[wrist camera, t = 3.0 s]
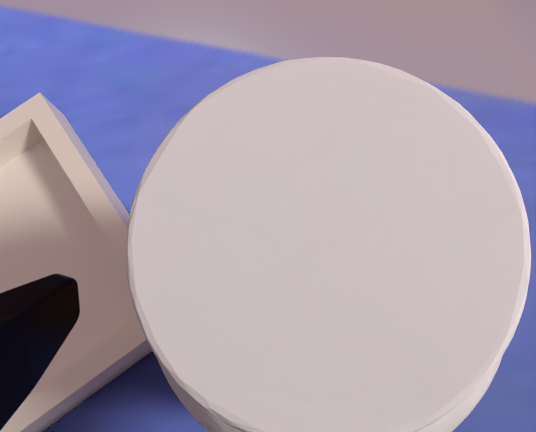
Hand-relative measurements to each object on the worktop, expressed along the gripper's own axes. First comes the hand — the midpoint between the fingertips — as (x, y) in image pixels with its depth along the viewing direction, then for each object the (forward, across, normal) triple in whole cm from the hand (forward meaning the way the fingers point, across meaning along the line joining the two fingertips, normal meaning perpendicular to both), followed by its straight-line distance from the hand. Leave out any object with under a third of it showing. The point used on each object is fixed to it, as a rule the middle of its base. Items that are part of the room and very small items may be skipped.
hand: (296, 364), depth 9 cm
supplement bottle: (+8, 0, +5) cm, 9 cm away
